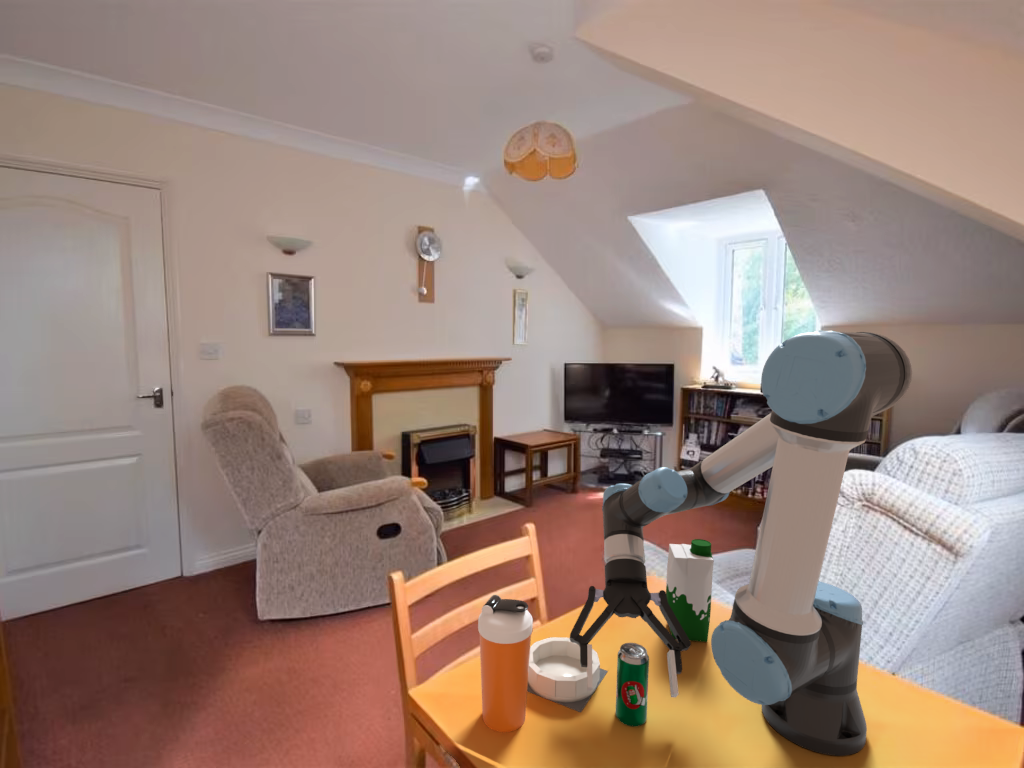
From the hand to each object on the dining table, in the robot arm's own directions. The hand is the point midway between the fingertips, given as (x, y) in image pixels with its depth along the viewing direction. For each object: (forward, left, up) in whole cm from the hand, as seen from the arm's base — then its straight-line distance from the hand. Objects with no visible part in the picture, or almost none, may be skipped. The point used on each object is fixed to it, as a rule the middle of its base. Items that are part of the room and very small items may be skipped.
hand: (631, 692), depth 88 cm
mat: (+14, -5, -6) cm, 16 cm away
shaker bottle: (+18, +9, -6) cm, 22 cm away
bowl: (+14, -5, -5) cm, 16 cm away
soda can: (0, -2, -6) cm, 6 cm away
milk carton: (-2, -34, -6) cm, 34 cm away
